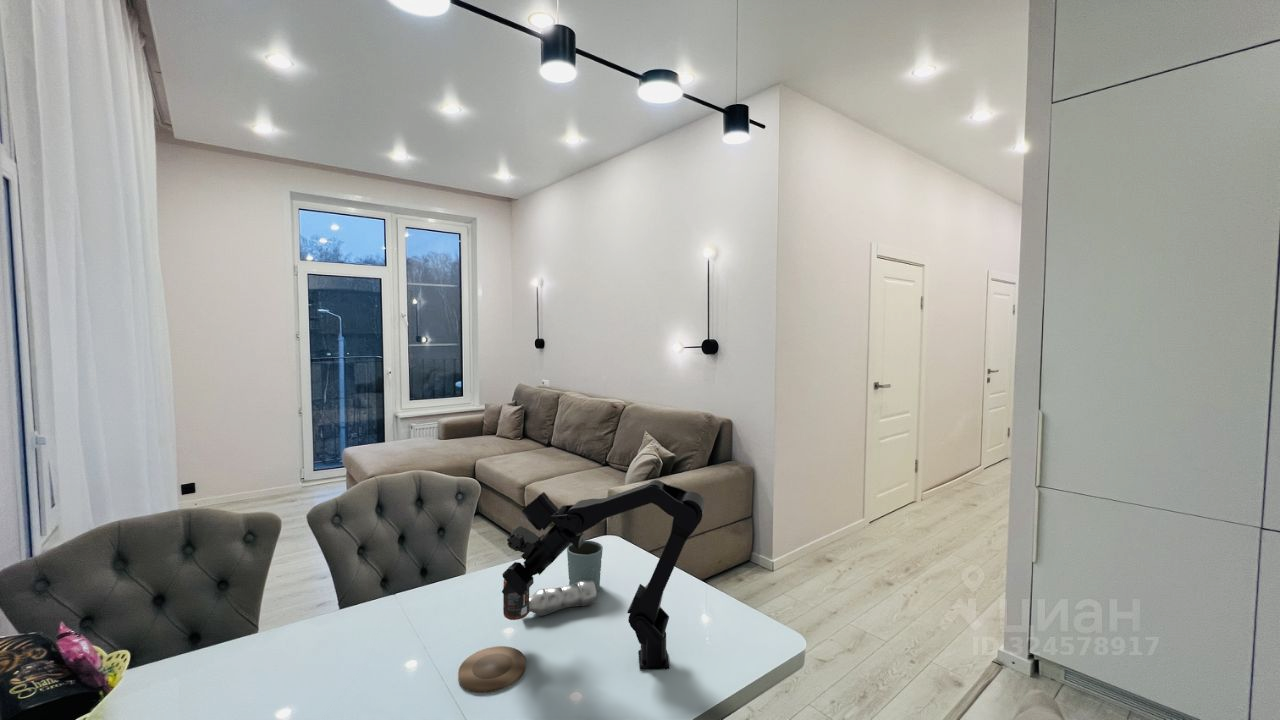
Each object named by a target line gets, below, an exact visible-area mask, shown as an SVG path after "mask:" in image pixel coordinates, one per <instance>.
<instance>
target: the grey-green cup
mask: <svg viewBox="0 0 1280 720" xmlns="http://www.w3.org/2000/svg"><path fill="white" fill-rule="evenodd" d="M583 541H584V542H583V543H582V545H581V546H580V547H579V548H578V549H577V548H575V546H574V545H573V544H572V543H571V544H570V545H569V546H568V547H567V548H566V552H567V553H566V555H567V567H568V569H567V571H568V580H569V582H568V585H571V584H574V583H577V582H579V581H582V580H588V579H589V580H592V581H593V582H594V584H595V588H596V593H597V592H598V591H599V590H600V588H601V587H600V584H601V573H602V558H603V549H604V548H603V545H602V544H601V543H599V542H598V541H593V540H583Z"/></svg>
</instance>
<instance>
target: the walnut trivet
mask: <svg viewBox="0 0 1280 720" xmlns="http://www.w3.org/2000/svg"><path fill="white" fill-rule="evenodd" d="M526 664H527V663H526V656H525V654H524V653H523V652H522V651H520V649H517V648H515V647H511V646H506V645H505V646H503V645H500V646H499V645H498V646H492V647H487V648H483V649H481V650H478V651H476V652H475V653H472V654H471V655H469V656H468V657H466V659H464V660H463V662H462V663H461V664H460V666H459V668H458V672H457V674H458V675H457V676H458V682H459V684H460V686H461V687H462V688H463V689H465V690H467V691H468V692H469V691H470V692H472V693H478V694H479V693H481V694H486V693H492V692H497V691H498V692H499V691H500V690H503V689H506V688H508V687H510V686H512V685H513V684H514V683H517V681H518V680H519V679H520V678H521V677H522V676H523V675H524V673H525V671H526V668H527V665H526Z"/></svg>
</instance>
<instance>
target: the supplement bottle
mask: <svg viewBox="0 0 1280 720" xmlns="http://www.w3.org/2000/svg"><path fill="white" fill-rule="evenodd" d="M522 565H523V566H524V564H522ZM510 566H511V565H510ZM510 566H508V567H507V569H508V568H509V567H510ZM524 567H525V566H524ZM506 583H507V581H506V580H505V579H504V578H503V587H502V588H504V587H505V585H506ZM502 596H503V599H502V600H503V601H502V604H503V608H502V609H503V610H502V612H503V617H504V618H506V619H507V620H510V621H515V620H516V621H517V620H521V619H524V618H526V617H527V616H528V615H529V614H530V612H529V598H530V588H529V589H528V590H527V591H526V592H525V593H524V594H523V595H522V596H521V595H518V594H517V593H516V592H514V593H511V594H507V595H504V594H503V593H502Z"/></svg>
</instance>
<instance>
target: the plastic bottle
mask: <svg viewBox="0 0 1280 720" xmlns="http://www.w3.org/2000/svg"><path fill="white" fill-rule="evenodd" d="M596 600H597V592H596V588H595V584H594V582H593V581H592V580H589V579H588V580H582V581H579V582H577V583H574V584H571V585H569V584H568V585H565V586H559V587H548V588H541V589H540V588H539V589H537V590H536V591H535V592H534V593H533V594H532V595H531V596H529V613H532V614H535V615H538V616H547V615H549V614H552V613H554V612H556V611H559V610H562V609H566V608H572V607H573V608H574V607H579V606H580V607H585V606H590V605H592V604H594V603H595V602H596Z"/></svg>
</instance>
